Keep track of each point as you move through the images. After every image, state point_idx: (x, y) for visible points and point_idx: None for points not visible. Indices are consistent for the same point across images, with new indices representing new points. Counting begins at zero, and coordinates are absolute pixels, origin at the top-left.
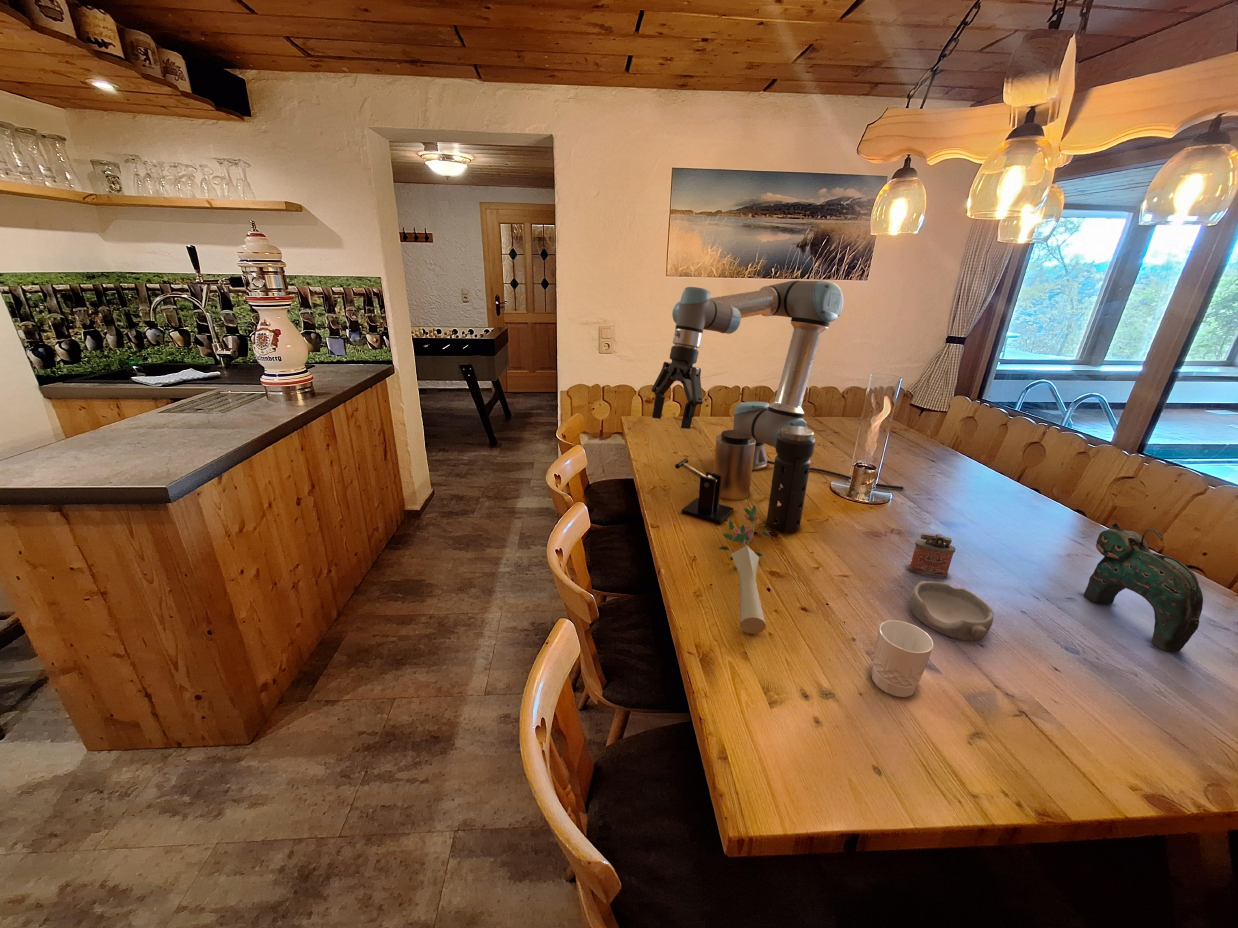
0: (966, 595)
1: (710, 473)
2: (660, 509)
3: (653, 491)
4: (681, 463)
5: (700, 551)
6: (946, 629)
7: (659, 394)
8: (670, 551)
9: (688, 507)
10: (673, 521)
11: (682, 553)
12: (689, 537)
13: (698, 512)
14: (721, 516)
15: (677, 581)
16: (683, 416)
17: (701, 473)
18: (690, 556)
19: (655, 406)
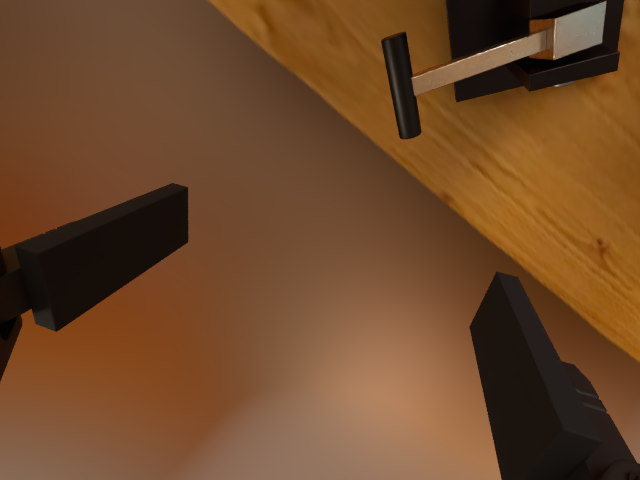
0: None
1: (557, 8)
2: (390, 125)
3: (289, 46)
4: (413, 110)
5: (604, 218)
6: None
7: (11, 304)
8: (535, 255)
9: None
10: (462, 152)
11: (564, 246)
12: (546, 186)
13: (512, 74)
14: (606, 30)
15: (600, 314)
16: (488, 390)
17: (511, 47)
18: (588, 245)
19: (131, 278)
